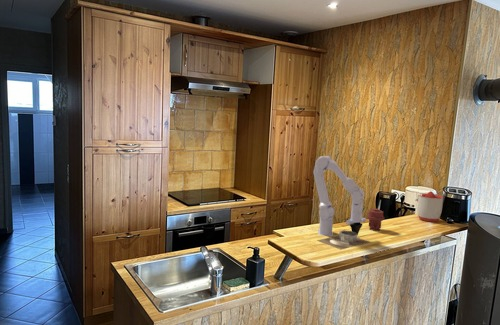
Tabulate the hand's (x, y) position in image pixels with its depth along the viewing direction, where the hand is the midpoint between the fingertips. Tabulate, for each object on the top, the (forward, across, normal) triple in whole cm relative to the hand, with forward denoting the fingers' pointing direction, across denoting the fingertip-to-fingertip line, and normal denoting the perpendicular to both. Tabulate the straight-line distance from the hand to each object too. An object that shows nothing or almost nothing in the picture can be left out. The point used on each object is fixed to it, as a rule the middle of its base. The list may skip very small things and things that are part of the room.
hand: (354, 236), depth 200 cm
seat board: (+2, -9, 0) cm, 9 cm away
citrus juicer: (+2, +84, +5) cm, 84 cm away
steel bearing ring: (+1, -6, 0) cm, 6 cm away
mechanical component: (+2, +29, +8) cm, 30 cm away
